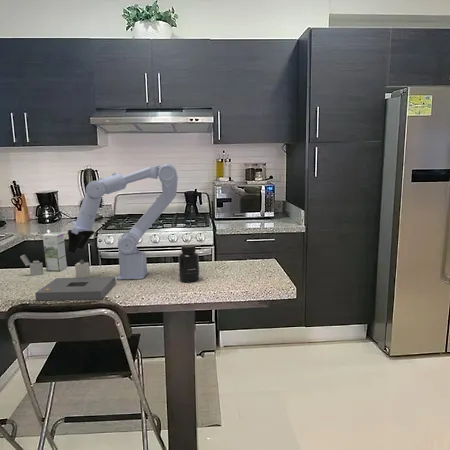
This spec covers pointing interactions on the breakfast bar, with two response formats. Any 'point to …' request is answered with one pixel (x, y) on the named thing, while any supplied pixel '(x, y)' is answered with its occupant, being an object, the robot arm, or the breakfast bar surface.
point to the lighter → (33, 266)
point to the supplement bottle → (188, 264)
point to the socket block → (76, 288)
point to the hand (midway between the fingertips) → (75, 249)
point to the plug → (82, 269)
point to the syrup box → (54, 251)
